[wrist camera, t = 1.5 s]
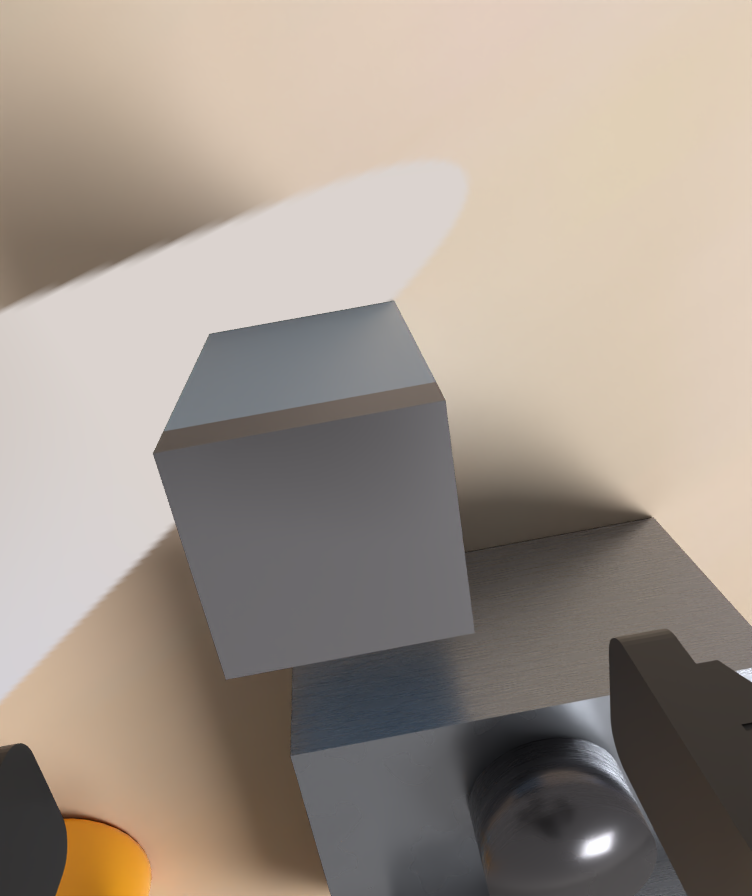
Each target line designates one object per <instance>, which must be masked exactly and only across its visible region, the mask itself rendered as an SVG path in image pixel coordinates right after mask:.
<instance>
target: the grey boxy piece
mask: <svg viewBox="0 0 752 896" xmlns="http://www.w3.org/2000/svg"><path fill="white" fill-rule="evenodd" d="M465 560H466V568H467V576H468V583H469V591H470V599H471V607H472V615H473V623H474V631H475V633H472V634H467V635H461V636H456V637H451V638H446V639H440V640H435V641H430V642H424V643H419V644H414V645H408V646H403V647H398V648H392V649H387V650H382V651H376V652H371V653H366V654H360V655H355V656H350V657H344V658H339V659H334V660H328V661H323V662H318V663H312V664H307V665H302V666H296V667H293V672H292V714H291V760H292V763H293V766H294V770H295V773H296V777H297V780H298V784H299V787H300V791H301V794H302V797H303V801H304V804H305V808H306V811H307V815H308V818H309V822H310V825H311V828H312V832H313V835H314V839H315V842H316V846H317V849H318V853H319V856H320V859H321V863H322V866H323V870H324V873H325V877H326V880H327V884H328V887H329V890H330V894H331V896H687V894H686V892H685V890H684V888H683V886H682V884H681V882H680V880H679V878H678V876H677V874H676V872H675V870H674V868H673V866H672V864H671V862H670V860H669V858H668V856H667V854H666V852H665V850H664V848H663V847H662V845H661V843H660V841H659V839H658V837H657V835H656V833H655V831H654V829H653V827H652V825H651V823H650V821H649V819H648V817H647V815H646V813H645V811H644V809H643V807H642V805H641V803H640V801H639V799H638V797H637V795H636V793H635V791H634V789H633V787H632V785H631V783H630V781H629V779H628V777H627V775H626V773H625V771H624V769H623V767H622V764H621V762H620V759H619V756H618V753H617V750H616V747H615V743H614V739H613V735H612V729H611V719H610V681H609V643H610V640H611V639H612V638H614V637H620V636H625V635H631V634H636V633H642V632H647V631H653V630H658V629H664V628H665V629H668V630H670V631H671V632H672V633H673V634H674V635H675V636H676V637H677V639H678V640H679V641H680V643H681V644H682V646H683V647H684V648H685V650H686V651H687V652H688V654H689V655H690V656H691V658H692V659H693V660H694V662H695V663H696V664H698V663H703V662H709V661H714V660H718V661H720V662H722V663H723V664H725V665H726V666H728V667H729V668H731V669H732V670H734V671H735V672H737V673H739V674H740V675H742V676H743V677H745V678H746V679H748V680H749V681H751V682H752V626H751V625H750V624H749V623H748V622H747V621H746V620H745V619H744V618H743V616H742V615H741V614H740V613H739V612H738V611H737V610H736V609H735V608H734V606H733V605H732V604H731V603H730V602H729V601H728V600H727V599H726V598H725V596H724V595H723V594H722V593H721V592H720V591H719V590H718V589H717V588H716V586H715V585H714V584H713V583H712V582H711V581H710V580H709V579H708V578H707V576H706V575H705V574H704V573H703V572H702V571H701V570H700V569H699V568H698V566H697V565H696V564H695V563H694V562H693V561H692V560H691V559H690V558H689V556H688V555H687V554H686V553H685V552H684V551H683V550H682V549H681V548H680V546H679V545H678V544H677V543H676V542H675V541H674V540H673V539H672V538H671V536H670V535H669V534H668V533H667V532H666V531H665V530H664V529H663V528H662V526H661V525H660V524H659V523H658V522H657V521H656V520H655V519H654V518H648V519H643V520H637V521H632V522H627V523H621V524H616V525H611V526H605V527H600V528H595V529H589V530H584V531H579V532H573V533H568V534H563V535H557V536H552V537H546V538H541V539H536V540H530V541H525V542H520V543H514V544H509V545H504V546H498V547H493V548H488V549H482V550H477V551H472V552H466V553H465Z"/></svg>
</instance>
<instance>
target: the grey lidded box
mask: <svg viewBox="0 0 752 896" xmlns="http://www.w3.org/2000/svg"><path fill="white" fill-rule="evenodd" d="M153 455H154V458H155V461H156V464H157V468H158V470H159V474H160V477H161V480H162V483H163V486H164V489H165V492H166V495H167V499H168V502H169V505H170V508H171V511H172V514H173V517H174V520H175V523H176V526H177V530H178V533H179V536H180V539H181V542H182V545H183V548H184V551H185V554H186V557H187V561H188V564H189V567H190V570H191V573H192V576H193V579H194V582H195V585H196V588H197V592H198V595H199V598H200V601H201V604H202V607H203V610H204V613H205V616H206V619H207V623H208V626H209V629H210V632H211V635H212V638H213V641H214V644H215V647H216V650H217V654H218V657H219V660H220V663H221V666H222V669H223V672H224V675H225V678H226V680H227V679H232V678H238V677H243V676H248V675H254V674H259V673H264V672H270V671H275V670H280V669H286V668H291V667H296V666H302V665H307V664H312V663H318V662H323V661H328V660H334V659H339V658H344V657H350V656H355V655H360V654H366V653H371V652H376V651H382V650H387V649H392V648H398V647H403V646H408V645H414V644H419V643H424V642H430V641H435V640H440V639H446V638H451V637H456V636H461V635H467V634H472V633H475V631H474V623H473V615H472V607H471V599H470V591H469V583H468V576H467V568H466V560H465V552H464V544H463V536H462V528H461V520H460V512H459V504H458V496H457V488H456V480H455V472H454V464H453V457H452V449H451V441H450V433H449V425H448V417H447V409H446V401H445V398H444V397H443V395H442V393H441V391H440V389H439V387H438V385H437V383H436V381H435V379H434V377H433V375H432V373H431V371H430V369H429V367H428V365H427V364H426V362H425V360H424V358H423V356H422V354H421V352H420V350H419V348H418V346H417V344H416V342H415V340H414V338H413V336H412V334H411V332H410V331H409V329H408V327H407V325H406V323H405V321H404V319H403V317H402V315H401V313H400V311H399V309H398V307H397V305H396V303H395V301H390V302H384V303H379V304H373V305H368V306H363V307H357V308H351V309H345V310H340V311H334V312H329V313H323V314H317V315H312V316H306V317H301V318H295V319H290V320H284V321H278V322H273V323H268V324H262V325H256V326H251V327H245V328H240V329H234V330H229V331H223V332H217V333H212V334H209V337H208V338H207V340H206V343H205V345H204V347H203V349H202V351H201V353H200V355H199V357H198V359H197V362H196V364H195V366H194V368H193V370H192V372H191V374H190V376H189V379H188V381H187V383H186V385H185V387H184V389H183V391H182V393H181V395H180V398H179V400H178V402H177V404H176V406H175V408H174V410H173V412H172V414H171V416H170V419H169V421H168V423H167V425H166V427H165V429H164V431H163V434H162V436H161V438H160V440H159V442H158V444H157V446H156V448H155V450H154V452H153Z"/></svg>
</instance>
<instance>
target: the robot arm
mask: <svg viewBox="0 0 752 896" xmlns="http://www.w3.org/2000/svg"><path fill="white" fill-rule="evenodd" d="M609 681H610V719H611V729H612V735H613V739H614V743H615V747H616V750H617V753H618V756H619V759H620V762H621V764H622V767H623V769H624V771H625V773H626V775H627V777H628V779H629V781H630V783H631V785H632V787H633V789H634V791H635V793H636V795H637V797H638V799H639V801H640V803H641V805H642V807H643V809H644V811H645V813H646V815H647V817H648V819H649V821H650V823H651V825H652V827H653V829H654V831H655V833H656V835H657V837H658V839H659V841H660V843H661V845H662V847H663V848H664V850H665V852H666V854H667V856H668V858H669V860H670V862H671V864H672V866H673V868H674V870H675V872H676V874H677V876H678V878H679V880H680V882H681V884H682V886H683V888H684V890H685V892H686V894H687V896H752V682H751V681H749V680H748V679H746V678H745V677H743V676H742V675H740V674H739V673H737V672H735V671H734V670H732V669H731V668H729V667H728V666H726V665H725V664H723V663H722V662H720V661H718V660H714V661H709V662H703V663H698V664H696V663H695V662H694V660H693V659H692V658H691V656H690V655H689V654H688V652H687V651H686V650H685V648H684V647H683V646H682V644H681V643H680V641H679V640H678V639H677V637H676V636H675V635H674V634H673V633H672V632H671V631H670V630H668V629H665V628H664V629H658V630H653V631H647V632H642V633H636V634H631V635H625V636H620V637H614V638H612V639H611V640H610V643H609ZM66 858H67V831H66V826H65V822H64V819H63V817H62V815H61V812H60V810H59V808H58V806H57V804H56V802H55V800H54V798H53V795H52V793H51V791H50V789H49V787H48V785H47V783H46V781H45V778H44V776H43V774H42V772H41V770H40V768H39V766H38V763H37V761H36V759H35V757H34V755H33V753H32V751H31V750H30V749H29V747H28V746H26V745H25V744H22V743H20V744H13V745H8V746H2V747H0V896H56V893H57V890H58V887H59V884H60V881H61V878H62V875H63V872H64V869H65V864H66Z"/></svg>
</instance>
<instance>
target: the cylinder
mask: <svg viewBox="0 0 752 896" xmlns="http://www.w3.org/2000/svg"><path fill="white" fill-rule="evenodd" d="M64 822H65V826H66V831H67V858H66V864H65V869H64V872H63V875H62V878H61V881H60V884H59V887H58V890H57V893H56V896H149V891H150V885H151V879H152V874H151V867H150V862H149V860H148V858H147V855H146V853H145V851H144V850H143V849H142V848H141V846H140V845H139V844H138V843H137V842H136V841H135V840H133V839H132V838H131V837H130V836H129V835H127V834H125V833H123V832H122V831H120V830H119V829H117V828H114V827H111V826H109V825H106V824H104V823H99V822H95V821H91V820H83V819H73V818H71V819H64Z"/></svg>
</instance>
